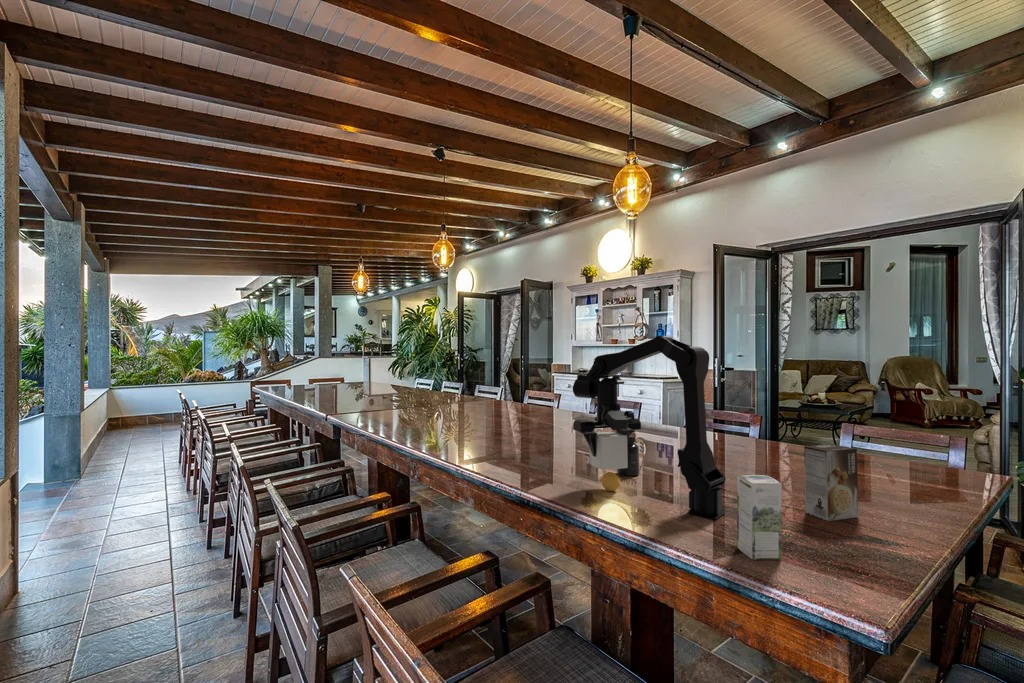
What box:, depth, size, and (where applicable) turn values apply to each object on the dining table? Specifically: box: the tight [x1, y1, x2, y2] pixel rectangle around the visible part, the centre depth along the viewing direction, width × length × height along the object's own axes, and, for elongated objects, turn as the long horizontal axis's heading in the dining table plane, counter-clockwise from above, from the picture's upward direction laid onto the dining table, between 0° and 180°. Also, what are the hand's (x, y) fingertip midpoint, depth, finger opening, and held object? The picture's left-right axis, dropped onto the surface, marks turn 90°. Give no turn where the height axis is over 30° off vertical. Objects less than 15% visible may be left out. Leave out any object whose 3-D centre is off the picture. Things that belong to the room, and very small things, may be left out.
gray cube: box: [588, 431, 628, 471], centre depth 135 cm, size 8×8×9 cm
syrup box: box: [736, 474, 783, 561], centre depth 92 cm, size 6×6×14 cm
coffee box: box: [803, 443, 859, 522], centre depth 114 cm, size 9×6×16 cm
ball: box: [601, 471, 621, 492], centre depth 133 cm, size 5×5×5 cm
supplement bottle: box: [616, 434, 640, 477], centre depth 151 cm, size 7×7×12 cm
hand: (607, 455), depth 135 cm, fingers closed on gray cube, 8 cm apart
